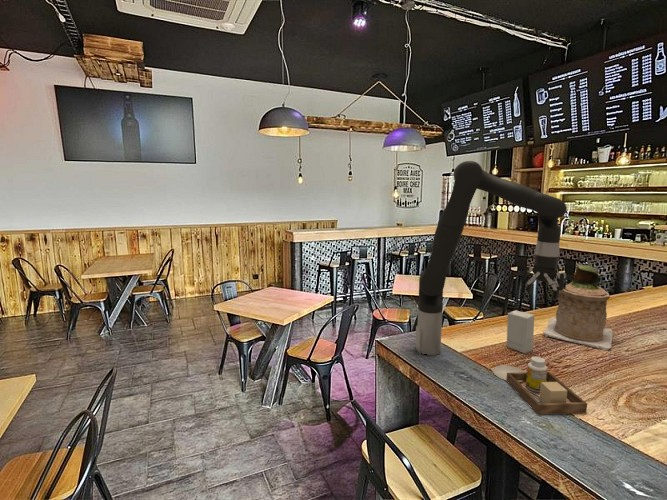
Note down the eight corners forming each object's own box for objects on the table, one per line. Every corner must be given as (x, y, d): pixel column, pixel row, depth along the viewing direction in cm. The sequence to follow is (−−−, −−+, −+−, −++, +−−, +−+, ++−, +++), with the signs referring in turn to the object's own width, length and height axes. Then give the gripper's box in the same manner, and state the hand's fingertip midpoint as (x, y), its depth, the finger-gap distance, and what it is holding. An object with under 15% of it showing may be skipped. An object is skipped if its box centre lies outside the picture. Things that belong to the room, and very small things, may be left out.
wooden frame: (537, 414, 110) (538, 405, 110) (506, 380, 129) (507, 372, 128) (586, 412, 111) (587, 403, 110) (548, 379, 129) (548, 371, 129)
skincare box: (532, 350, 151) (536, 315, 148) (524, 354, 148) (527, 318, 145) (513, 343, 158) (516, 309, 155) (504, 346, 155) (507, 312, 152)
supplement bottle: (528, 381, 128) (531, 353, 126) (546, 387, 125) (549, 358, 123) (523, 388, 124) (526, 359, 122) (542, 394, 120) (545, 365, 118)
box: (548, 409, 113) (550, 391, 112) (539, 399, 118) (541, 382, 117) (565, 409, 113) (567, 390, 112) (554, 399, 118) (556, 381, 117)
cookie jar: (611, 352, 149) (622, 274, 143) (541, 337, 164) (549, 265, 158) (613, 332, 169) (623, 262, 163) (550, 320, 183) (557, 255, 177)
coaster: (501, 383, 127) (501, 381, 127) (487, 367, 138) (487, 365, 138) (533, 382, 128) (533, 380, 128) (516, 366, 138) (516, 364, 138)
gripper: (521, 251, 140) (517, 293, 143) (563, 258, 128) (557, 304, 131) (532, 249, 144) (527, 290, 147) (572, 255, 133) (567, 300, 136)
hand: (541, 296), depth 139 cm, fingers open, 8 cm apart
